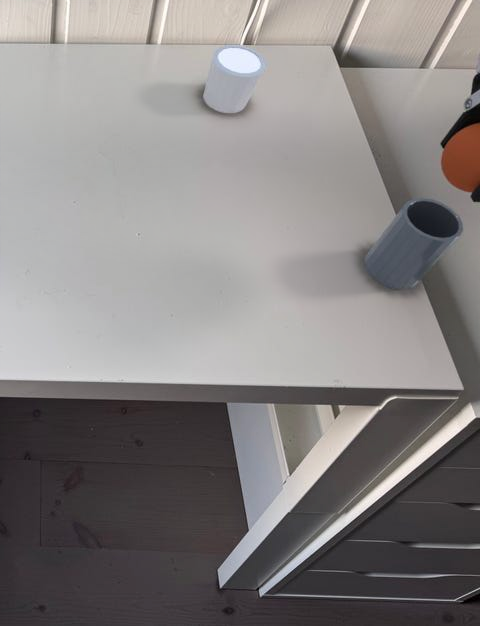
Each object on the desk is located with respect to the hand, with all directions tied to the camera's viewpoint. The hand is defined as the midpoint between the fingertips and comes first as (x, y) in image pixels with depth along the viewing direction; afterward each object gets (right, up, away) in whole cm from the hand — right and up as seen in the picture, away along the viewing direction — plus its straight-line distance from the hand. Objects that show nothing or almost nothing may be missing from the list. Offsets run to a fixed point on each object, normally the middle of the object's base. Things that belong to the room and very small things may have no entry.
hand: (471, 171), depth 63 cm
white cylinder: (-14, +15, +29) cm, 36 cm away
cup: (-1, -9, +13) cm, 16 cm away
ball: (0, +1, -1) cm, 2 cm away
